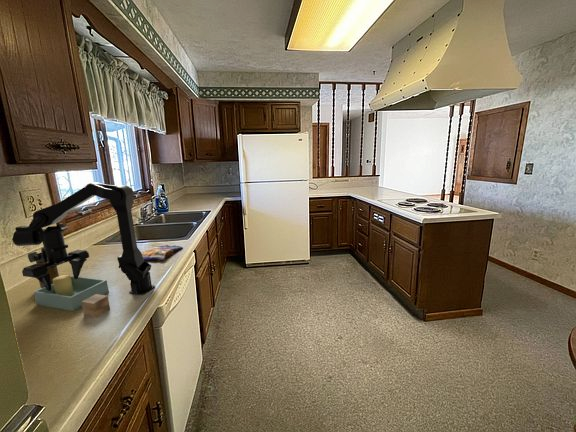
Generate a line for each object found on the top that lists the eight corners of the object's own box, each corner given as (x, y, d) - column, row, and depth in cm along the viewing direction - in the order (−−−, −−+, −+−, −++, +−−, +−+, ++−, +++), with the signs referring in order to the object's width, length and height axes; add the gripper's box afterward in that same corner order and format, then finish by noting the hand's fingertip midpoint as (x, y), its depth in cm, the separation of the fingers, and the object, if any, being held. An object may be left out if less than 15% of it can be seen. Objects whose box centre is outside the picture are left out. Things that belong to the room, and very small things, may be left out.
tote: (74, 287, 107) (72, 275, 106) (108, 292, 102) (106, 280, 101) (36, 304, 95) (33, 291, 93) (73, 311, 90) (70, 297, 89)
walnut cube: (98, 307, 92) (96, 294, 91) (110, 309, 91) (107, 295, 90) (84, 315, 87) (81, 301, 86) (96, 317, 86) (93, 303, 85)
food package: (125, 264, 132) (124, 255, 131) (156, 247, 156) (155, 240, 155) (167, 265, 129) (166, 256, 128) (192, 247, 153) (191, 240, 152)
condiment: (48, 283, 111) (42, 255, 108) (70, 282, 112) (64, 254, 109) (34, 292, 104) (27, 262, 101) (57, 290, 105) (51, 261, 102)
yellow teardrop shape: (77, 292, 101) (73, 275, 99) (63, 299, 96) (59, 281, 95) (67, 291, 102) (63, 274, 101) (53, 298, 98) (48, 280, 96)
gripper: (64, 234, 106) (72, 271, 109) (5, 251, 88) (17, 294, 92) (86, 236, 103) (94, 274, 106) (29, 253, 85) (40, 298, 89)
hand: (63, 284), depth 98 cm, fingers open, 9 cm apart
